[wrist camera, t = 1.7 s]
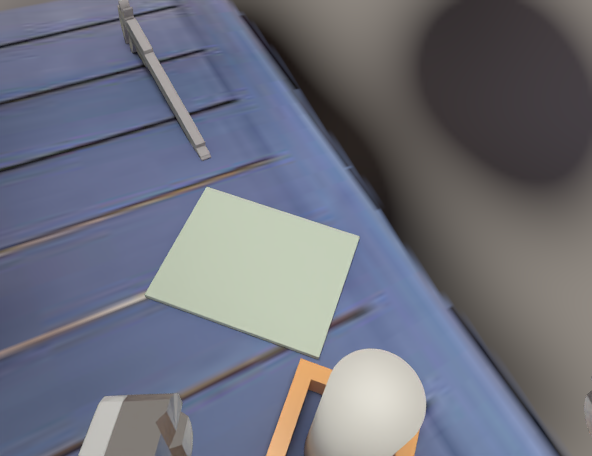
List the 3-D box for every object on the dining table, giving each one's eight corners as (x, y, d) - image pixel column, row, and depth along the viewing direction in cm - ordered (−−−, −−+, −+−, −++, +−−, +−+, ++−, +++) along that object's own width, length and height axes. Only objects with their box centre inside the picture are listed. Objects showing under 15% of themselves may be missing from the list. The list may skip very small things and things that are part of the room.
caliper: (124, 43, 61) (112, -6, 56) (133, 41, 62) (122, -9, 56) (202, 163, 52) (196, 117, 47) (212, 159, 53) (207, 113, 47)
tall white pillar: (294, 475, 37) (312, 427, 25) (316, 406, 40) (342, 335, 28) (362, 502, 36) (414, 466, 25) (380, 430, 39) (434, 368, 27)
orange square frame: (253, 496, 36) (253, 491, 34) (298, 369, 41) (300, 358, 39) (386, 550, 35) (394, 548, 33) (416, 412, 40) (425, 403, 38)
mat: (145, 297, 44) (144, 294, 43) (207, 190, 50) (206, 186, 50) (318, 359, 42) (318, 357, 41) (358, 239, 48) (359, 236, 48)
